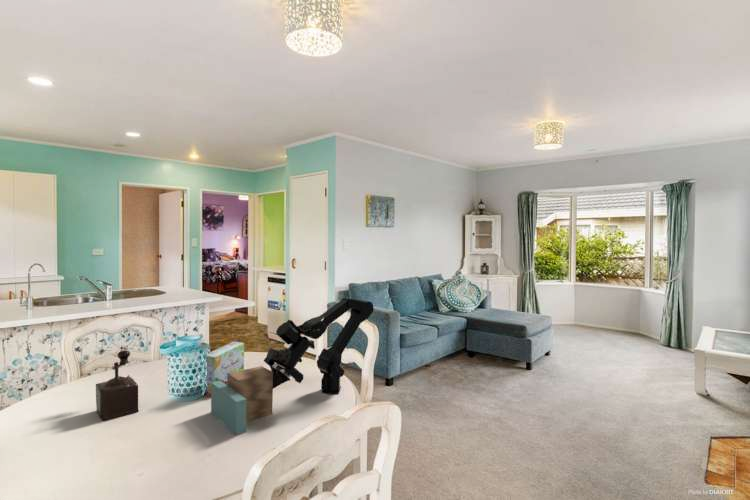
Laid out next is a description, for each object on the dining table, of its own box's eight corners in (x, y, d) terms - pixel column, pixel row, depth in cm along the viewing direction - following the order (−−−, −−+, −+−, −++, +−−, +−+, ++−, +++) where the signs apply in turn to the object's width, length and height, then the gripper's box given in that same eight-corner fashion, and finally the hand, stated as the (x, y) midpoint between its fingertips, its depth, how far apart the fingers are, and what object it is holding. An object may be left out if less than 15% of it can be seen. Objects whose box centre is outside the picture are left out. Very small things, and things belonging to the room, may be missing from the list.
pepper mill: (141, 411, 135) (141, 358, 135) (101, 421, 128) (101, 365, 127) (129, 397, 146) (129, 347, 146) (92, 406, 139) (91, 353, 138)
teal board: (220, 409, 138) (220, 380, 138) (246, 431, 123) (246, 399, 123) (211, 412, 136) (211, 382, 136) (236, 434, 121) (236, 401, 121)
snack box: (214, 398, 148) (214, 356, 147) (200, 396, 149) (200, 355, 148) (244, 378, 169) (244, 341, 168) (232, 376, 170) (232, 340, 169)
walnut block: (261, 405, 142) (261, 366, 141) (272, 413, 136) (272, 372, 135) (227, 415, 134) (227, 373, 133) (237, 424, 128) (237, 380, 127)
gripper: (268, 333, 148) (239, 370, 141) (295, 344, 134) (264, 386, 127) (287, 350, 154) (260, 386, 147) (315, 363, 140) (287, 403, 133)
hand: (267, 390), depth 139 cm, fingers closed, pressing on walnut block
